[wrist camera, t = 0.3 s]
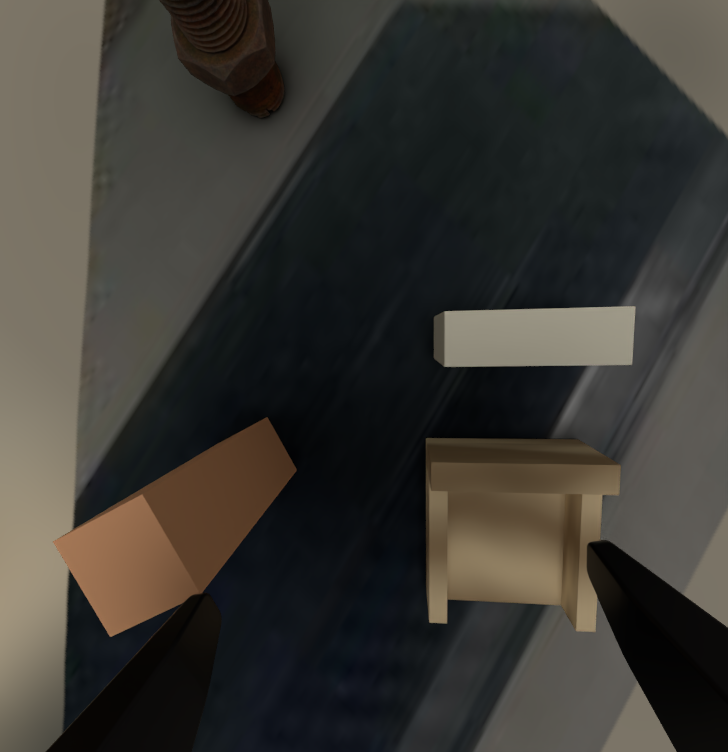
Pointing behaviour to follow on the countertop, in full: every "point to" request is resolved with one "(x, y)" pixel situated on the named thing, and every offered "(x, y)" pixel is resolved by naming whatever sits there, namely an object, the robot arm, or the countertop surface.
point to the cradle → (514, 522)
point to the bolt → (230, 49)
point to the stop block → (535, 337)
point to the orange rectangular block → (176, 529)
